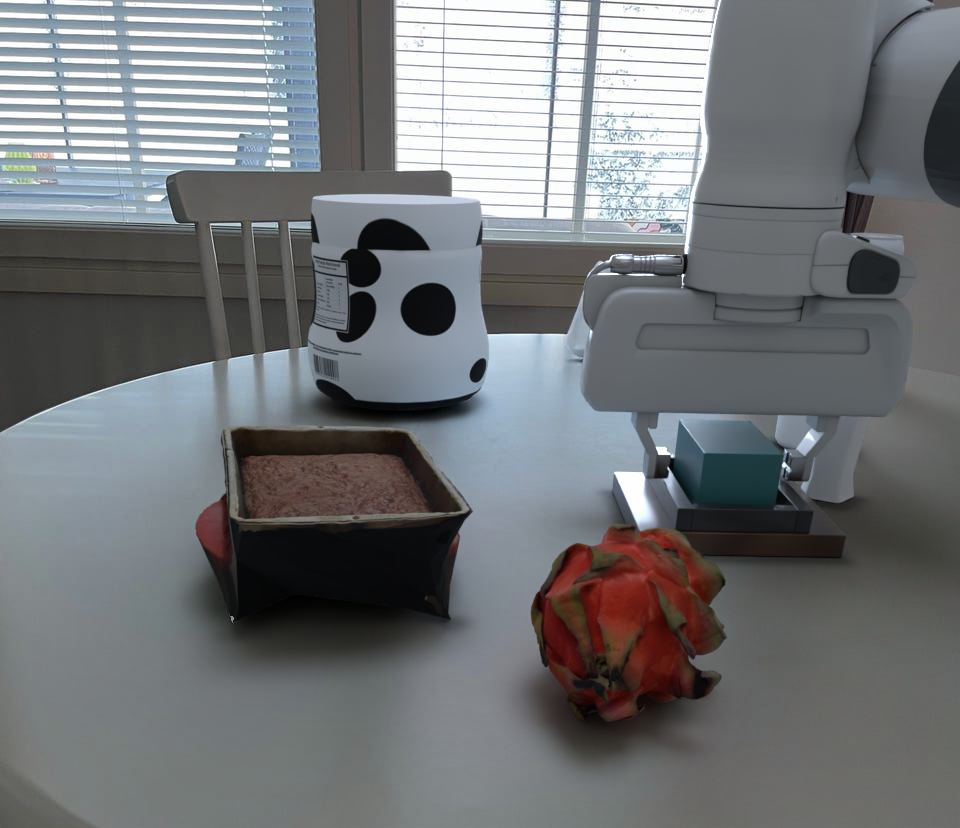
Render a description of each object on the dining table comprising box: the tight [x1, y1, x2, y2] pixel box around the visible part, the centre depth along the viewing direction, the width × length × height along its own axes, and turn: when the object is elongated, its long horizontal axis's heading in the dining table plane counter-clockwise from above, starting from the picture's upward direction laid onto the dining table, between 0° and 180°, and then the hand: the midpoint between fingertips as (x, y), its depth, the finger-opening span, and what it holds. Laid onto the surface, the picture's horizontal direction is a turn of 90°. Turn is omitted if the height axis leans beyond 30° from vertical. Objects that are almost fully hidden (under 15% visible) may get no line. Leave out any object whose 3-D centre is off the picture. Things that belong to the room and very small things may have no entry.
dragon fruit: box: [530, 523, 727, 724], centre depth 42 cm, size 8×8×12 cm
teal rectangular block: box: [673, 418, 784, 505], centre depth 63 cm, size 5×8×4 cm, turn 0°
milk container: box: [307, 193, 490, 412], centre depth 88 cm, size 17×17×18 cm
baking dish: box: [194, 424, 474, 623], centre depth 52 cm, size 14×18×10 cm
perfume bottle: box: [800, 416, 871, 504], centre depth 66 cm, size 5×4×15 cm
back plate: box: [612, 453, 847, 558], centre depth 64 cm, size 13×12×3 cm
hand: (724, 477), depth 63 cm, fingers open, 8 cm apart
